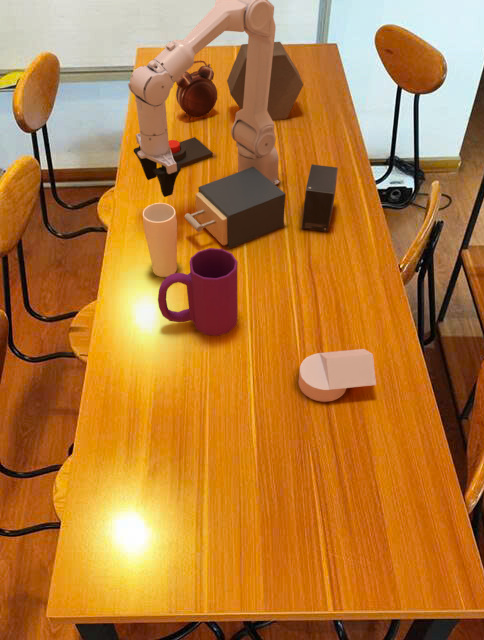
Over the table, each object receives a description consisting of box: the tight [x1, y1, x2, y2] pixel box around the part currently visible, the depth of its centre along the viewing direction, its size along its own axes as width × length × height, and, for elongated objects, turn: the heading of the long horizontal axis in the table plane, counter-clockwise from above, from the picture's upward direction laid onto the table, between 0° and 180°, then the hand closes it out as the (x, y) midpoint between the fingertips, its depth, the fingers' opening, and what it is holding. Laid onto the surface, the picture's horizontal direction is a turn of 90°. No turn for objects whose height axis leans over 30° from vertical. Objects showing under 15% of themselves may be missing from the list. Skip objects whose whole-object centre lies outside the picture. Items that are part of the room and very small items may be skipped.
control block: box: [172, 136, 213, 169], centre depth 177 cm, size 12×9×3 cm
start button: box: [168, 139, 180, 153], centre depth 174 cm, size 4×4×2 cm
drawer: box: [183, 191, 228, 246], centre depth 155 cm, size 18×12×7 cm, turn 122°
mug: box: [157, 247, 239, 337], centre depth 133 cm, size 9×16×15 cm, turn 99°
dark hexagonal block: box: [226, 41, 304, 121], centre depth 184 cm, size 17×8×21 cm
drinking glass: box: [142, 202, 178, 278], centre depth 143 cm, size 7×7×15 cm
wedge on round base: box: [298, 348, 377, 403], centre depth 126 cm, size 9×7×13 cm
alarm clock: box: [175, 60, 218, 121], centre depth 184 cm, size 11×5×15 cm, turn 115°
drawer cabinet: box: [198, 167, 286, 250], centre depth 156 cm, size 15×13×9 cm
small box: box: [301, 163, 339, 232], centre depth 156 cm, size 11×6×10 cm, turn 168°
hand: (159, 186), depth 152 cm, fingers open, 7 cm apart
